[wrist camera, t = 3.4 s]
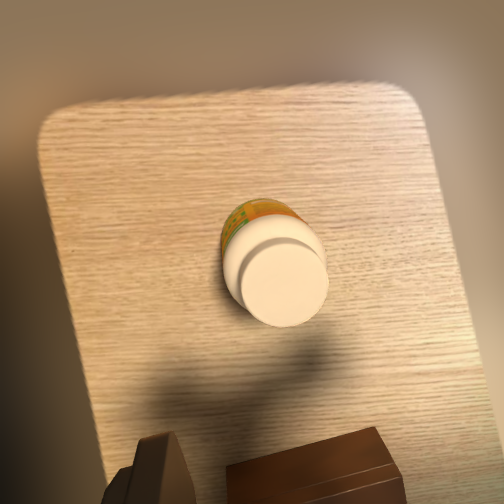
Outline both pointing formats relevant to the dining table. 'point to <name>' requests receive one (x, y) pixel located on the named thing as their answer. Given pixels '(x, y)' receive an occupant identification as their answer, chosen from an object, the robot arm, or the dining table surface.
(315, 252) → the supplement bottle
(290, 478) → the wooden divided tray
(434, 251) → the dining table surface
